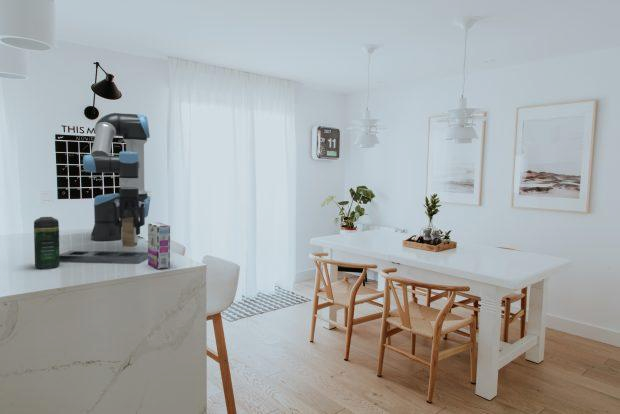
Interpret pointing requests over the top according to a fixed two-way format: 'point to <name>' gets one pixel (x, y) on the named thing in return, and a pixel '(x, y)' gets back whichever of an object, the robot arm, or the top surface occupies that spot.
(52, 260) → the coffee jar
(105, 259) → the grey metal hole board
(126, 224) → the walnut peg
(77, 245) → the top surface
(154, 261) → the candy bar box
